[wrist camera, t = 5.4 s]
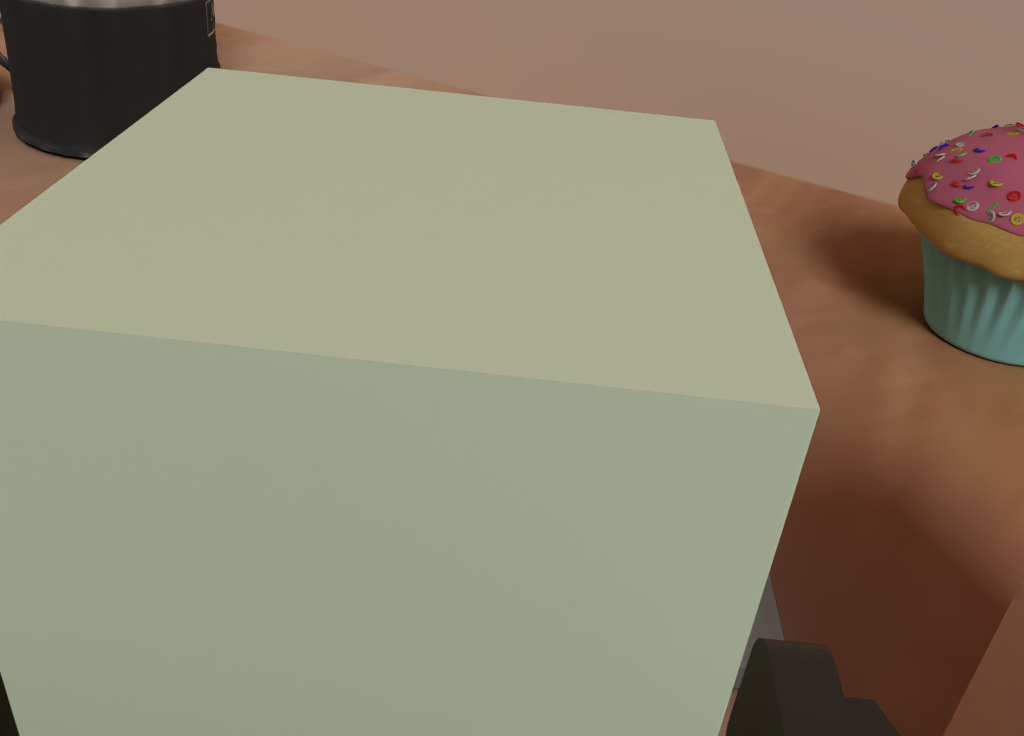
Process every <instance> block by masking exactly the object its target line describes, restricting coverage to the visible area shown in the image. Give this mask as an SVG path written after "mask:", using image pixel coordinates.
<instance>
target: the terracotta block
mask: <svg viewBox="0 0 1024 736" xmlns="http://www.w3.org/2000/svg"><path fill="white" fill-rule="evenodd" d="M943 736H1024V578H1023V580H1022V582H1021V584H1020V586H1019V588H1018V590H1017V591H1016V593H1015V595H1014V597H1013V599H1012V601H1011V603H1010V605H1009V607H1008V609H1007V611H1006V613H1005V615H1004V617H1003V619H1002V621H1001V623H1000V625H999V627H998V629H997V631H996V633H995V635H994V636H993V638H992V640H991V642H990V644H989V646H988V648H987V650H986V652H985V654H984V656H983V658H982V660H981V662H980V664H979V666H978V668H977V670H976V672H975V674H974V676H973V678H972V680H971V681H970V683H969V685H968V687H967V689H966V691H965V693H964V695H963V697H962V699H961V701H960V703H959V705H958V707H957V709H956V711H955V713H954V715H953V717H952V719H951V721H950V723H949V725H948V726H947V728H946V730H945V732H944V734H943Z"/></svg>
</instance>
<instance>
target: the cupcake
mask: <svg viewBox="0 0 1024 736" xmlns="http://www.w3.org/2000/svg"><path fill="white" fill-rule="evenodd" d="M944 141H946V142H945V143H943V142H944ZM947 141H948V142H947ZM923 156H925V157H923V158H922V159H921V160H920V161H918V162H917V161H916V160H913V161H912V168H911V169H910V170H909V172H908V173H907V174H906V178H907V179H908V180H907V181H906V183H905V184H904V186H903V188H902V190H901V192H900V195H899V198H898V205H899V207H900V209H901V210H902V211H903V212H904V213H905V214H906V215H907V217H908V218H909V219H910V221H911V222H912V223H913V224H914V225H915V227H916V228H917V229H918V230H919V232H920V237H921V246H922V256H923V268H924V317H925V320H926V322H927V323H928V325H929V326H930V328H931V329H932V330H933V331H934V332H935V333H936V334H938V335H939V336H940V337H941V338H943V339H944V340H946V341H947V342H949V343H951V344H952V345H954V346H956V347H958V348H960V349H962V350H964V351H966V352H969V353H971V354H974V355H976V356H979V357H982V358H985V359H989V360H992V361H996V362H1000V363H1005V364H1011V365H1018V366H1024V125H1022V124H1020V123H1018V122H1017V123H1016V125H1013V124H1006V125H1005V127H999V125H995V126H994V127H992V128H990V129H983V130H977V131H974V130H972V131H971V132H969V133H967V134H964V135H962V136H959V137H957V138H955V139H953V140H950V139H949V138H945V139H943V140H942V141H941V142H940V145H938V146H935V147H934V148H932V149H931V150H930V152H929V153H927V154H924V155H923ZM914 163H915V164H914Z"/></svg>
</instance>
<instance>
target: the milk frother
mask: <svg viewBox="0 0 1024 736" xmlns="http://www.w3.org/2000/svg"><path fill="white" fill-rule="evenodd" d="M0 13H1V19H2V25H3V31H4V37H5V42H6V49H7V55H8V59H7V58H6V57H5V56H4V55H2V54H1V52H0V64H1V65H2V66H3V67H4V68H6V69H7V70H8V71H9V72H10V74H11V81H12V88H13V95H14V102H15V115H14V117H13V120H12V123H13V129H14V131H15V133H16V135H17V136H18V137H19V138H20V139H22V140H23V141H25V142H26V143H27V144H31V145H33V146H35V147H37V148H39V149H41V150H44V151H48V152H52V153H56V154H61V155H65V156H71V157H80V158H89V157H91V156H92V155H93V154H95V153H96V152H97V151H99V150H100V149H101V148H103V147H104V146H105V145H107V144H108V143H109V142H111V141H112V140H113V139H115V138H116V137H117V136H119V135H120V134H121V133H123V132H124V131H125V130H126V129H128V128H129V127H130V126H132V125H133V124H134V123H136V122H137V121H138V120H140V119H141V118H142V117H144V116H145V115H146V114H148V113H149V112H150V111H152V110H153V109H154V108H156V107H157V106H158V105H159V104H161V103H162V102H163V101H165V100H166V99H167V98H169V97H170V96H171V95H173V94H174V93H175V92H177V91H178V90H179V89H181V88H182V87H183V86H185V85H186V84H187V83H189V82H190V81H191V80H192V79H194V78H195V77H196V76H198V75H199V74H200V73H202V72H203V71H204V70H206V69H207V68H217V69H221V68H220V64H219V62H218V57H217V44H216V36H215V14H214V2H213V0H0Z"/></svg>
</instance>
